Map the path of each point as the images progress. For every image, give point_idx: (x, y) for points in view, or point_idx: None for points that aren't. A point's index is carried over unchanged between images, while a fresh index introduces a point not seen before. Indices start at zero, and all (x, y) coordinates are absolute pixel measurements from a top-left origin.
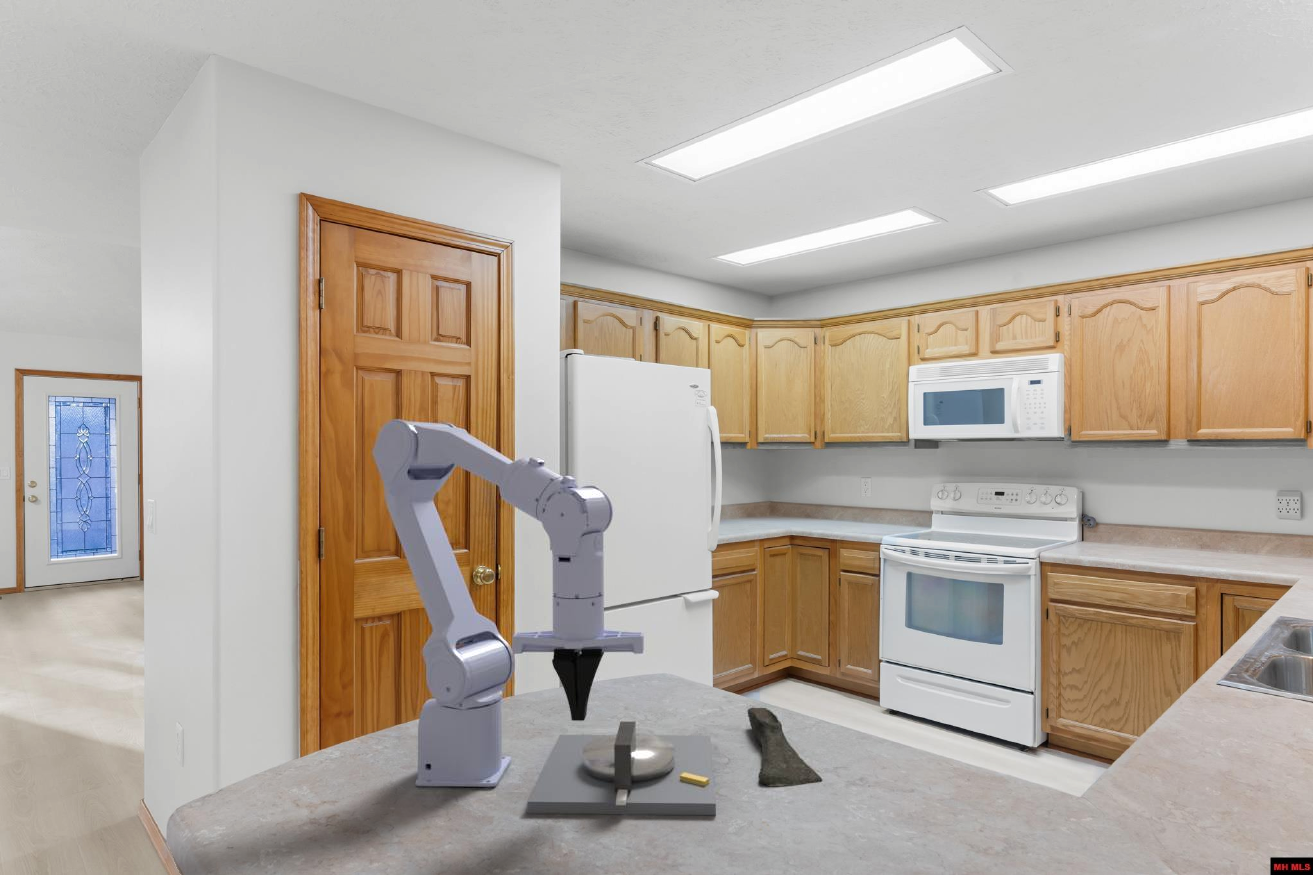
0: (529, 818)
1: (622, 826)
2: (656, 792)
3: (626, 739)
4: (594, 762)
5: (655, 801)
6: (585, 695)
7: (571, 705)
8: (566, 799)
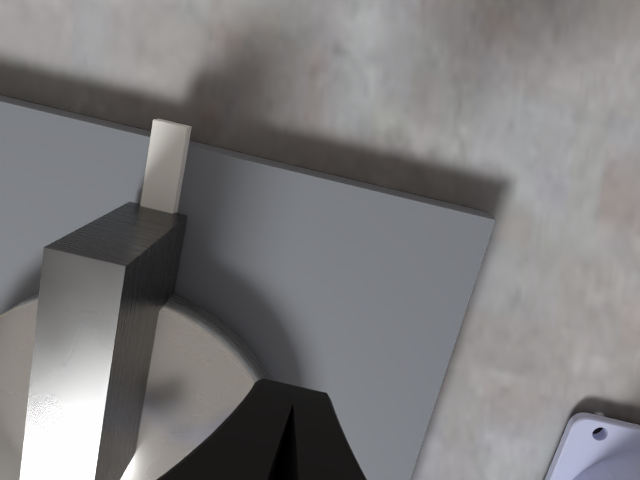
0: (483, 174)
1: (186, 51)
2: (44, 196)
3: (63, 320)
4: (240, 378)
5: (51, 126)
6: (211, 448)
7: (331, 433)
8: (360, 207)
